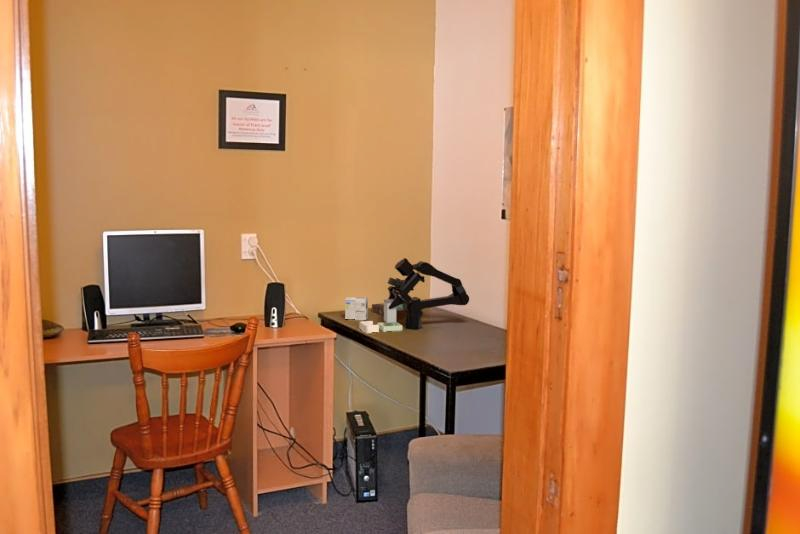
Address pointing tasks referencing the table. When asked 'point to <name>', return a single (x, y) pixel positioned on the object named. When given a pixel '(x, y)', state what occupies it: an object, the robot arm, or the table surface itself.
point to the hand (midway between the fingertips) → (387, 307)
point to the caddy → (389, 311)
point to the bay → (368, 326)
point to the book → (380, 310)
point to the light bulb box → (356, 308)
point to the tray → (390, 326)
